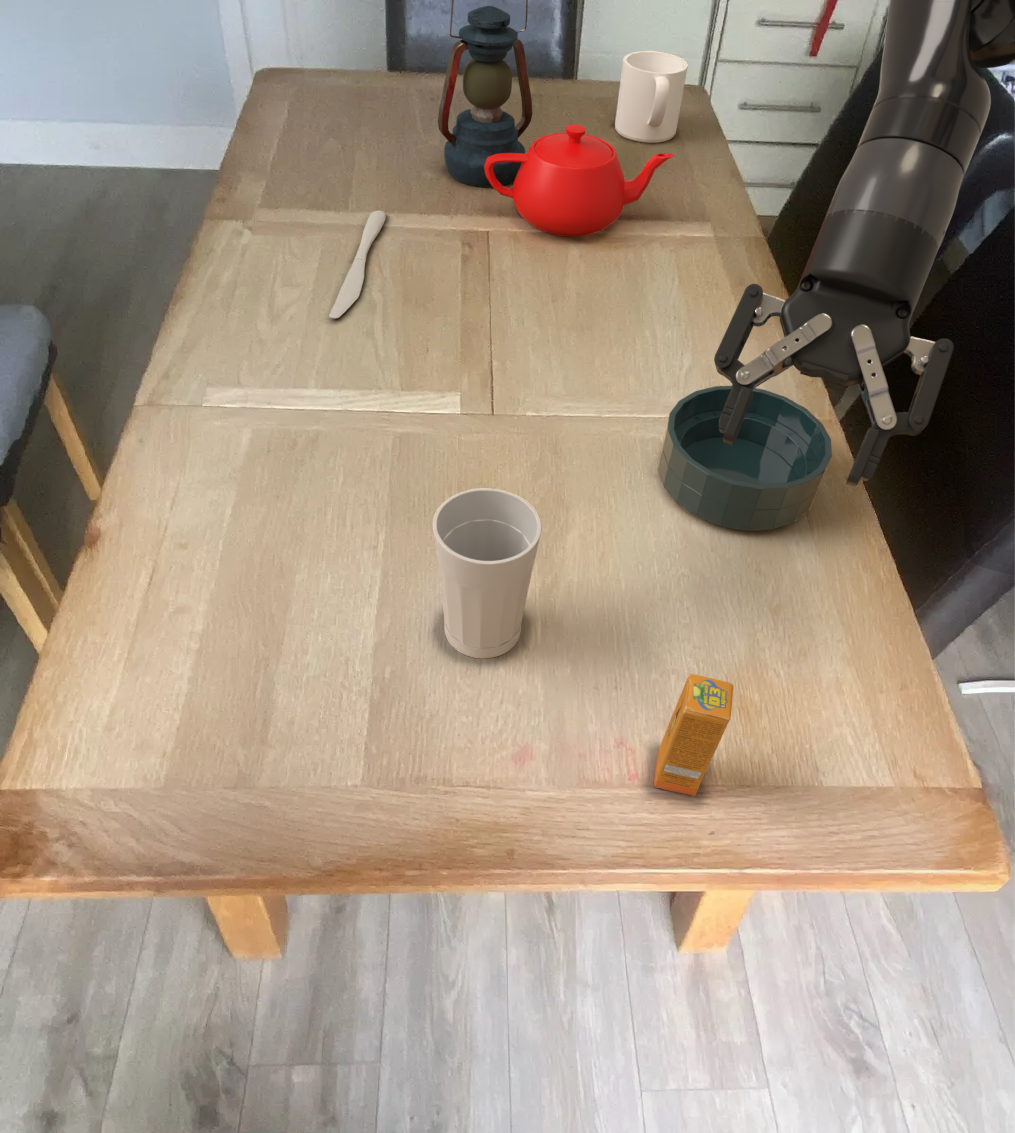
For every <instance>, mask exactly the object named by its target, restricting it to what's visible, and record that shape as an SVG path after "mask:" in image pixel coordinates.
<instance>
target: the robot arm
mask: <svg viewBox="0 0 1015 1133" xmlns="http://www.w3.org/2000/svg"><path fill="white" fill-rule="evenodd" d="M886 16H887V17H886V25H885V33H884V42H883V48H882V49H883V50H882V55H881V56H882V57H881V65H880V72H879V73H880V74H879V86H878V93H877V96H876V98H875V101H874V104H873V106H872V109H871V111H870V113H869V116H868V119H867V121H866V123H865V126H864V129H863V131H862V133H861V136H860V139H859V141H858V143H857V147H856V148H855V149H856V150H854V153H853V156H852V157H851V160H850V161H849V164H848V165H847V167H846V169H845V171H844V172H843V174H842V176H841V178H840V180H839V182H838V184H837V186H836V188H835V192H834V194H833V196H832V199H831V202H830V204H829V207H828V209H827V211H826V214H825V217H824V219H823V221H822V224H821V226H820V229H819V232H818V234H817V237H816V239H815V242H814V245H813V247H812V250H811V252H810V255H809V257H808V260H807V262H806V265H805V267H804V270H803V271H802V272H803V273H802V275H801V278H800V280H799V282H798V284H797V287H796V289H795V290H794V292H793V293H792V294H791V295H789V297H787V298H786V299H783V298H781V297H778V296H775V295H772V294H769V293H766V292H764V290H763V287H762V286H761V285H759V284H758V283H751V284H748V285H747V286H746V288H745V289H744V290H743V292H742V293H743V294H742V295H741V298H740V301H739V302H738V304H737V307H736V308H735V310H734V313H733V315H732V317H731V319H730V322H729V324H728V326H727V328H726V330H725V333H724V335H723V337H722V339H721V341H720V343H719V345H718V347H717V349H716V352H715V354H714V357H713V362H714V365H715V369H716V370H715V371H716V372H717V373H718V374H719V375H720V376H723V377H724V378H726V379H727V380H728V381H729V382H730V383H731V386H732V388H731V391H730V393H729V396H728V398H727V401H726V403H725V406H724V409H723V411H722V414H721V416H720V419H719V431H720V432H721V433H724V436H723V442H724V443H727V444H730V445H734V443H735V441H736V439H737V436H738V433H739V431H740V428H741V426H742V423H743V421H744V418H745V416H746V413H747V411H748V408H749V406H750V403H751V401H752V398H753V389H754V388H757V387H759V386H760V385H762V384H764V383H765V382H767V381H768V380H770V379H772V378H773V377H774V378H775V377H777V376H778V375H781V374H782V373H784V372H786V371H787V370H788V369H790V368H791V367H792V366H793V367H794V368H795V369H796V370H797V371H798V372H800V373H799V374H800V375H803V376H806V377H809V378H820V379H821V378H823V379H825V380H826V381H828V382H830V383H831V384H833V385H836V386H839V387H842V388H846V387H847V386H849V387H851V386H856V385H857V386H858V389H859V392H860V396H861V399H862V402H863V405H864V406H865V408H866V411H867V414H868V418H869V420H870V423H871V426H870V427H868V429H867V431H866V432H865V435H864V437H863V440H862V441H861V442H862V443H861V445H860V447H859V449H858V451H857V452H858V453H857V454H856V457H855V459H854V462H853V464H852V467H851V469H850V472H849V475H848V477H847V480H846V482H845V485H847V486H850V487H853V488H857V486H858V485H859V483H860V481H864V482H868V481H869V480H870V479H871V478H872V477H873V476H874V475H875V473H876V471H877V469H878V466H879V464H880V461H881V459H882V456H883V454H884V451H885V449H886V446H887V444H888V441H889V439H890V438H891V437H894V436H897V435H898V436H899V435H909V436H913V437H914V436H918V435H920V434H921V433H922V432H923V431H924V429H926V428H927V426H928V425H929V423H930V420H931V418H932V415H933V412H934V408H935V406H936V404H937V403H936V402H937V399H938V396H939V394H940V391H941V389H942V385H943V382H944V379H945V376H946V373H947V371H948V367H949V365H950V364H949V363H950V362H951V358H952V356H953V352H954V350H955V345H954V343H953V341H952V340H950V339H949V338H945V337H944V338H939V339H937V340H936V341H935V340H930V339H925V338H921V337H917V336H912V335H911V332H910V322H911V319H912V316H913V314H914V312H915V309H916V306H917V305H918V302H919V299H920V297H921V294H922V292H923V289H924V287H925V284H926V282H927V279H928V277H929V275H930V272H931V269H932V267H933V264H934V262H935V258H936V257H937V254H938V253H939V249H940V248H941V246H942V244H943V242H944V241H945V236H946V233H947V229H948V227H949V225H950V222H951V220H952V217H953V214H954V211H955V209H956V205H957V201H958V197H959V192H960V190H961V185H962V182H963V179H964V177H965V175H966V173H967V170H968V167H969V165H970V162H971V160H972V158H973V155H974V153H975V150H976V148H977V145H978V143H979V141H980V137H981V136H982V134H983V130H984V128H985V125H986V122H987V119H988V116H989V114H990V110H991V104H992V99H991V91H990V88H989V85H988V83H987V81H986V80H985V78H984V77H983V74H982V73H981V71H980V70H979V69H992V68H999V67H1005V66H1008V65H1011V64H1014V63H1015V0H889V3H888V10H887V15H886ZM773 317H779V322H780V326H781V330H782V333H783V338H781V339H780V340H778V341H777V342H775V343H773V345H771V346H769V347H767V348H766V349H765V350H764V351H763V352H762V353H761V354H760V355H758V356H757V357H755V358H754V359H752V360H751V361H750V362H748V363H746V364H744V363H742V361H740V360H739V358H740V356H741V354H742V352H743V350H744V347H745V345H746V344H747V341H748V339H749V336H750V335H751V332H752V330H753V328H754V327H756V328H757V327H758V328H759V327H763V326H765V325H766V323H767V322H768V320H770V319H771V318H773ZM904 354H906V355H907V356H909V357H910V359H911V371H912V372H913V373H914V374H915V375H919V379H918V381H917V385H916V386H915V387H916V388H915V390H914V394H913V396H912V400H911V403H910V404H909V405H910V406H909V407H908V411H899V412H897V411H895V408H894V404H893V401H892V398H891V396H890V390H889V385H888V381H887V378H886V375H885V372H884V368H885V367H887V366H889V365H890V364H891V363H893V362H894V361H896V360H898V359H899V358H901V357H902V356H903V355H904Z"/></svg>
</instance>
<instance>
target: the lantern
mask: <svg viewBox="0 0 1015 1133" xmlns="http://www.w3.org/2000/svg"><path fill="white" fill-rule="evenodd" d="M454 1H455V0H451V8H450V23H449V37H450V38H453V39H460V40H459V41H457V42H455V43H454V44H453V46H452V47H451V49H450V54H449V58H448V63H447V68H446V73H445V78H444V84H443V88H442V94H441V98H440V103H439V108H438V114H437V126H438V130H439V132H440V133H441V135H442V136H443V137H444V138H445V139H446V140H447V141H446V142H445V144H444V148H443V156H444V162H445V165H446V168H447V170H448V173H449V174H450V176H451V177H452V178H453V179H454V180H456V181H458V182H460V183H462V184H465V185H469V186H473V187H482V188H493V187H492V185H491V184H490V182H489V181H488V179H487V177H486V175H485V169H484V165H485V162H486V160H487V158H488V157H489V156H492V155H494V154H500V153H523V154H526V148H525V146H524V145H523V144H522V142H520V141H519V138H520V137H521V136H522V135H523V133H524V132H525V131H526V130H527V129H528V127H529V126H530V124H531V122H532V118H533V113H534V112H533V101H532V100H533V99H532V92H531V86H530V80H529V72H528V65H527V57H526V52H525V45H524V44H523V42H522V40H521V39H520V38H518V37H519V34H518V33H522V32H524V31H526V30H527V24H528V7H529V6H528V4H529V0H525V3H526V4H525V25H524V28H523V29H520V30H515V29H514V28H512V27H510V26H509V25H510V24H511V15H510V13H508V12H506V11H504V10H502V9H501V8H499V7H496V6H492V5H484V6H480V7H477V8H475V9H472V10H470V11H469V12H467V19H466V20H467V23H468V25H464V26H462V27H461V28H459V31H458V35H452V27H453V17H454V16H453V15H454ZM512 48H513V53H514V59H515V67H516V72H517V80H518V86H519V93H520V98H521V99H520V100H521V111H522V112H521V118H520V119H519V121H518V122H517V123H515V122H516V121H515V118H514V116H513V115H511V114H510V113H509V112H506V111H504V110H502V108H501V107H502V106H503V105H504V104H506V103H507V101H508V100H509V99H510V97H511V94H512V89H513V73H512V69H511V67H510V66H509V64H508V63H507V62H506V61H505V60H504V59H506V57H507V55H508V52H510V51H511V50H512ZM465 51H468V54H469V55H470V57H471V59H470V60H469V61H468V62H467V63H466V64H465V66H464V70H463V73H462V91H463V95H464V96H465V99H467V102H469V103H470V105H472V106H471V108H468V109H466V110H463V111H462V112H460V113H458V114H457V116H456V120H455V125H454V126H453V128H452V133H451V131H450V129H449V120H450V110H451V107H452V106H451V105H452V102H453V99H454V98H453V97H454V93H455V88H456V82H457V79H458V75H459V68H460V64H461V59H462V56H463V53H464V52H465ZM521 164H522V162H499V163H496V164H494V165H493V171H494V174H495V176H496V179H497V180H498V181H499V182H500V184H501V185H502V186H505V185H509V184H511V183H512V182H513V183H514V181H515V178H516V176H517V173H518V171H519V168H520V166H521Z"/></svg>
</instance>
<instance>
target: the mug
mask: <svg viewBox="0 0 1015 1133" xmlns="http://www.w3.org/2000/svg"><path fill="white" fill-rule="evenodd" d="M688 67H689V65H688V62H687V61H686V60H685V59H684V58H682V57H680V56H678V55H676V54H672V53H669V52H663V51H657V50H639V51H634V52H630V53H627V54H626V55H624V57H623V58H622V67H621V75H620V82H619V90H618V97H617V105H616V113H615V121H614V130H615V131H616V132H617V134H619V135H620V136H621V137H623V138H625V139H627V140H630V141H634V142H639V143H647V144H658V143H662V142H667V141H670V140H672V139H673V138H674V137H675V135H676V133H677V129H678V124H679V118H680V112H681V107H682V101H683V96H684V89H685V83H686V79H687V73H688Z"/></svg>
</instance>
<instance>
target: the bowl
mask: <svg viewBox="0 0 1015 1133" xmlns="http://www.w3.org/2000/svg"><path fill="white" fill-rule="evenodd" d="M731 388H732V385H716V386H715V385H714V386H710V387H707V388H703V389H698V390H695V391H693V392H691V393H690V394H688V395H686V396H684V397H683V398H681V399H679V401H677V403H676V404H675V406H674V407H673V408H672V409H671V410H670V412H669V414H668V418H667V423H666V427H665V432H664V437H663V441H662V445H661V450H660V454H659V460H658V461H659V462H658V468H657V470H658V474H659V476H660V480H661V482H662V484H663V488H664V489H665V490H666V491H667V493H668V494H669V495H670V496H671V497H672V499H673V500H674V502H676V504H678V505H679V506H681V507H683V509H685V510H687V511H688V512H689V513H691V514H693V515H694V516H695V517H698V518H700V519H702V520H705V521H707V522H709V523H712V524H715V525H717V526H720V527H724V528H729V529H734V530H741V531H747V532H751V531H770V530H771V531H772V530H775V529H778V528H781V527H785V526H788V525H791V524H793V523H795V522H796V521H798V520H799V519H801V518H802V517H804V515H806V514H807V513H809V511H810V509H811V507H812V505H813V504H814V503H813V502H814V501H815V499H816V497H817V495H818V492H819V490H820V487H821V485H822V482H823V479H824V477H825V475H826V474H827V470H828V467H829V466H830V463H831V460H832V457H833V446H832V439H831V436H830V435H829V433H828V431H827V430H826V428H825V425H823V423H822V422H821V421H820V420H819V419H818V418H817V417H816V416H815V415H814V414H813V413H812V412H811V411H810V410H809V409H807V408H806V407H804V406H802V405H800V404H799V403H797V402H795V401H794V400H792V399H790V398H789V397H787V396H784V395H781V394H778V393H776V392H773V391H769V390H766V389H762V388H757V387H756V388H754V389H753V398H752V401H751V403H750V406H749V408H748V411H747V413H746V416H745V418H744V421H743V423H742V426H741V428H740V431H739V433H738V436H737V439H736V441H735V443H734V445H730V444H727V443H724V442H723V436H724V433H721V432H720V431H719V419H720V416H721V414H722V411H723V409H724V406H725V403H726V401H727V398H728V396H729V393H730V391H731Z"/></svg>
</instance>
